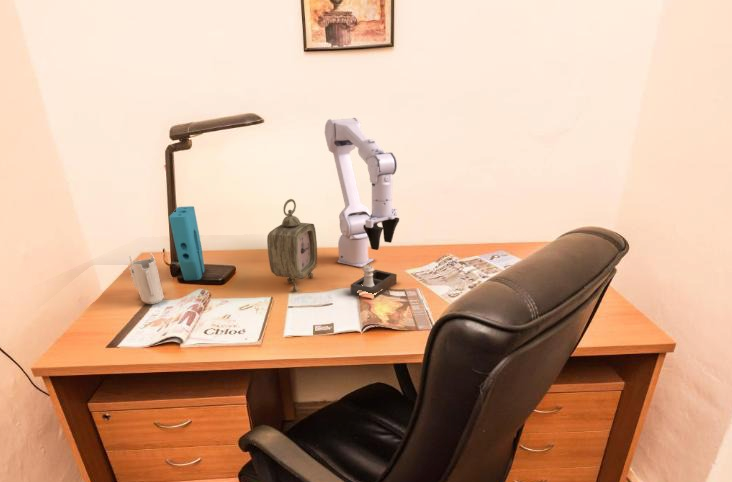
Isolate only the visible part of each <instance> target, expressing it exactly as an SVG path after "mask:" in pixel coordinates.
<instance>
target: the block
mask: <svg viewBox="0 0 732 482" xmlns="http://www.w3.org/2000/svg"><path fill="white" fill-rule="evenodd" d="M175 210H176V212H174V211H173V212H172V213H171V214H170V215H169V216H168V218H169V222H170V228H171V232H172V236H173V241H174V246H175V250H176V251H175V252H176V257H177V260H178V264H179V267H180V272H181V274H182V277H183V280H184V281H200V280H201V279H202V278H203V274H204V273H205V264H204V255H203V247H202V242H201V236H200V231H199V225H198V220H197V216H196V209H195V206H191V205H190V206H177V207H176V208H175Z"/></svg>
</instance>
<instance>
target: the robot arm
mask: <svg viewBox="0 0 732 482" xmlns="http://www.w3.org/2000/svg"><path fill="white" fill-rule="evenodd" d="M324 136H325V137H324V138H325V141H326V146H327V148H328V151H329V152H330V153H332V154H333V155H332V156H333V159H334V163H335V168H336V172H337V176H338V180H339V186H340V189H341V193H342V198H343V203H344V208H342V210H341V211H340V213H339V215H338V219H339V230H340V233H341V235H340V236H339V239H338V244H337V246H338V247H337V248H338V260H337V263H339V264H343V265H348V266H352V267H357V268H364V266H365V265H369V264H370V263H372V262H373V261H374V258H370V257H369V245H370V249H371V250H375V251H379V249H380V242H381V236H382V232H383V240H384V242H385V243H392V242H393V237H394V234H395V230H396V228H397V226H398V224H399V222H400V217H397V216H398V209H396V208H393V175H395V174H396V172H397V169H398V163H397V158H396V156H395V155H394V153H393V152H391V151H390V152H387V151H386V152H385V150H383V149H382V147H380V145H379V144H378V143H377V142H376V140H375V139H374V138H367V136H366V135H365V133H363V131H362V125H361V122H360V121H359V119H358V118H357V117H352V118H340V119H339V118H338V119H331V118H330V119H327V120H326V123H325V125H324ZM356 148H357V153H358V156H359V157H360V158H361V160H362V161H364V163H365V164H366V166H367V171H368V175H369V182H370V183H371V212H370V208H369V207H368V206H366V205H364V204H362V203H361V198H360V194H359V190H358V185H357V180H356V176H355V172H354V168H353V164H352V159H351V158H352V157H351V152H352V151H354V150H355V149H356ZM380 223H381V226H379V225H378V224H380Z"/></svg>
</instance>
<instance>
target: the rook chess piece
mask: <svg viewBox="0 0 732 482" xmlns="http://www.w3.org/2000/svg"><path fill="white" fill-rule="evenodd" d="M374 270H375V268H374V265H372V264H366V265H365V266H363V267H362V271H363V272H364V273H363V274H362V275H363V277H364V282H363V284H362V285H363V286H367V287H371V288H372V287H373V286H375V285H374V283H373V273H372V272H373V271H374Z"/></svg>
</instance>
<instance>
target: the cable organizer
mask: <svg viewBox="0 0 732 482" xmlns="http://www.w3.org/2000/svg"><path fill="white" fill-rule="evenodd" d="M149 254H150V255H149V256H150V258H145V259H139V260H133V259H132V257H131V255H129V256H128V259H129V261H130V266H128V269H129V272H130V276H131V280H132V282H133V286H134V288H136V289H137V291H138V294H139V297H140V299H141V301H142V302H143V303H144V304H146V305H155V304H159V303H161V302H162V301H163V299H164V297H165V296H164V292H163V291H164V290H163V287H162V283H161V280H160V274H159V271H158V266H157V261H156V258H155V257H154V255H153V253H152V252H150V253H149Z"/></svg>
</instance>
